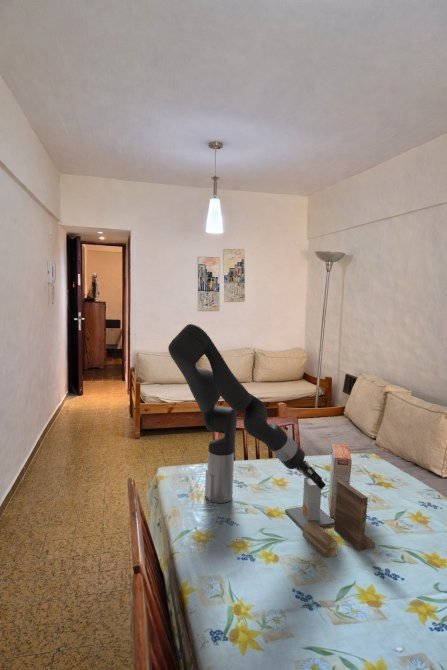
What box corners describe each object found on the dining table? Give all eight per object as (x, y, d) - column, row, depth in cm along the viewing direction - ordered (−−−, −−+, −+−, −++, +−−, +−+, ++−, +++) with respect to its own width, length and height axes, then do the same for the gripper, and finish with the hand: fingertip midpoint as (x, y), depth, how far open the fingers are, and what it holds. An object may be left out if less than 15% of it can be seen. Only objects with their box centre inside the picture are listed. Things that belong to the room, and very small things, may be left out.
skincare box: (302, 511, 144) (303, 477, 143) (314, 511, 144) (316, 477, 143) (307, 521, 138) (309, 485, 137) (320, 520, 138) (322, 484, 137)
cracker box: (348, 520, 142) (352, 459, 140) (329, 517, 143) (333, 457, 141) (345, 500, 155) (348, 444, 153) (327, 498, 156) (331, 443, 154)
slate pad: (303, 530, 134) (303, 527, 134) (285, 512, 145) (285, 509, 145) (335, 525, 138) (335, 522, 138) (315, 507, 149) (315, 504, 149)
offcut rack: (324, 558, 120) (327, 503, 119) (302, 535, 132) (305, 485, 130) (375, 547, 127) (379, 495, 125) (349, 526, 138) (353, 478, 136)
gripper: (306, 450, 130) (336, 481, 135) (284, 435, 143) (311, 464, 149) (290, 468, 129) (320, 499, 134) (269, 451, 142) (297, 480, 147)
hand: (315, 481), depth 141 cm, fingers open, 8 cm apart
